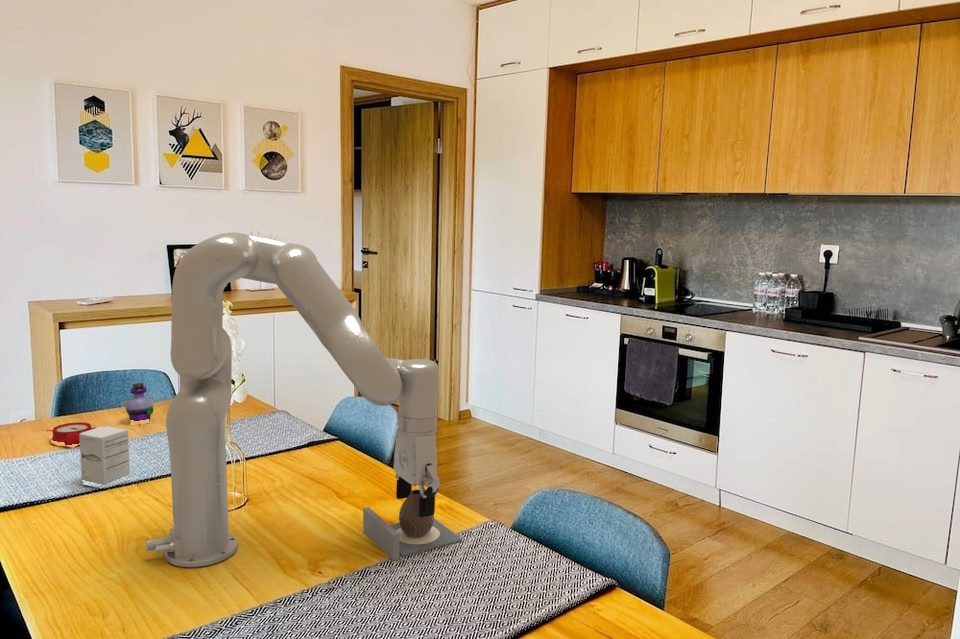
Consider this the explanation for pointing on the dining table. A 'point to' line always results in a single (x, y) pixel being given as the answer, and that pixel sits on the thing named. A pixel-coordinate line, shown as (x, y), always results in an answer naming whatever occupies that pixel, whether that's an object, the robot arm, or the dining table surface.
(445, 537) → the mat
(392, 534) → the low wall
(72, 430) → the alarm clock
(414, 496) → the vase
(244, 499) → the dining table surface
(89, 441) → the supplement box
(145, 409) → the potion bottle
